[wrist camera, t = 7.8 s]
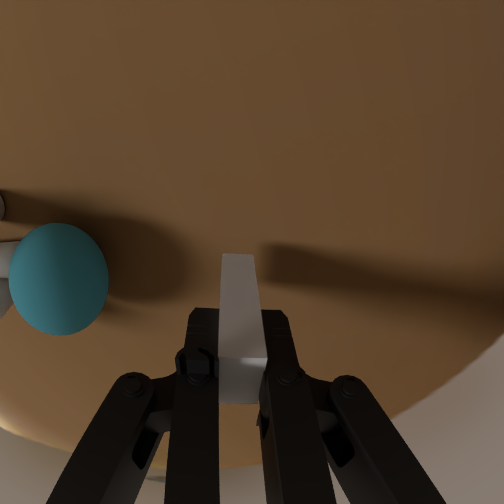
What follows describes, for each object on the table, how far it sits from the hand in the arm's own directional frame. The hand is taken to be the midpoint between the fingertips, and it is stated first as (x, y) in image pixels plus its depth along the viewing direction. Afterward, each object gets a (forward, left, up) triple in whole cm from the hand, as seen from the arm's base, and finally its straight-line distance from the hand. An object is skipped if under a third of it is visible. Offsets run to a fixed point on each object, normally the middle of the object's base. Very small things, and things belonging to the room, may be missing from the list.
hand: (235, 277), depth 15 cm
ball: (+9, +4, +1) cm, 10 cm away
